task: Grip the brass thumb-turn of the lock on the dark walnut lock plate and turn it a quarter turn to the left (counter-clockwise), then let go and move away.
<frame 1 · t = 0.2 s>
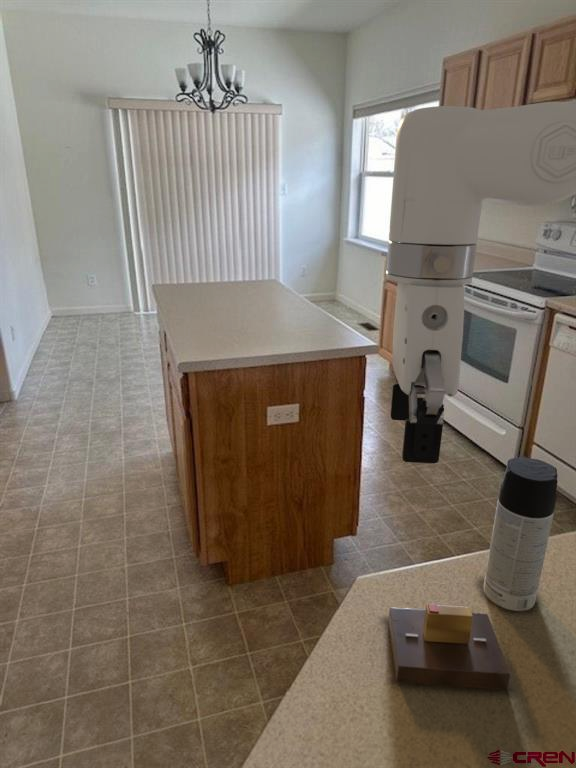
hand: (412, 438, 53), 29 cm above the counter, tool pointing down, fingers open, 9 cm apart
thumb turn: (447, 623, 61), point 5 cm above the counter, hinge at 0.0°
lock plate: (442, 658, 63), on the counter
spray can: (508, 599, 73), on the counter
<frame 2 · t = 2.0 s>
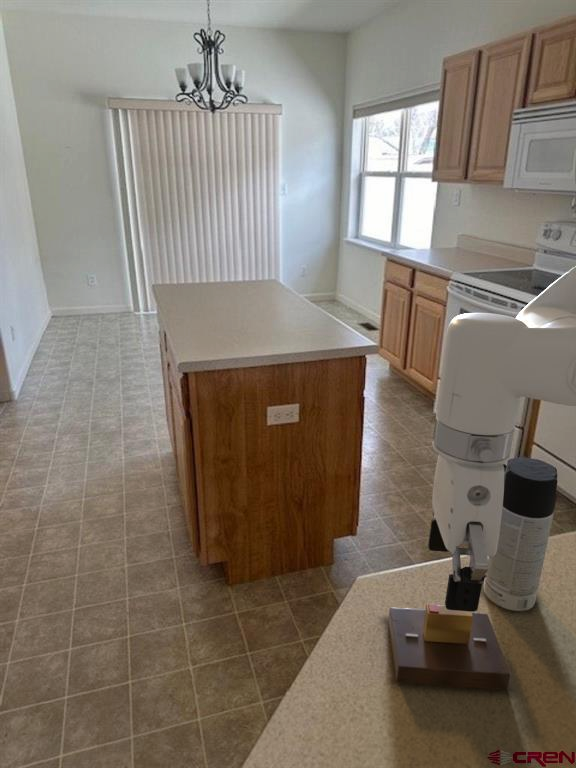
hand: (450, 577, 59), 12 cm above the counter, tool pointing down, fingers open, 9 cm apart
nothing on the counter moved.
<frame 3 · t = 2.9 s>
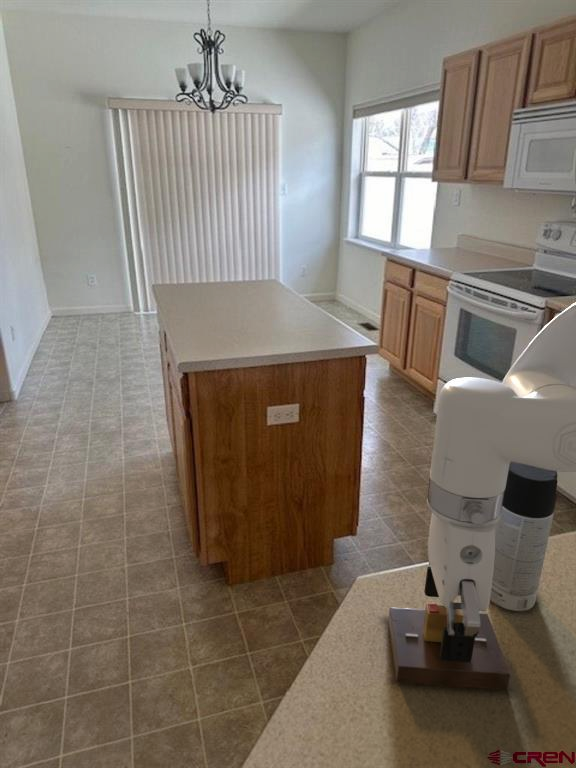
hand: (445, 625, 62), 5 cm above the counter, tool pointing down, fingers open, 9 cm apart
nothing on the counter moved.
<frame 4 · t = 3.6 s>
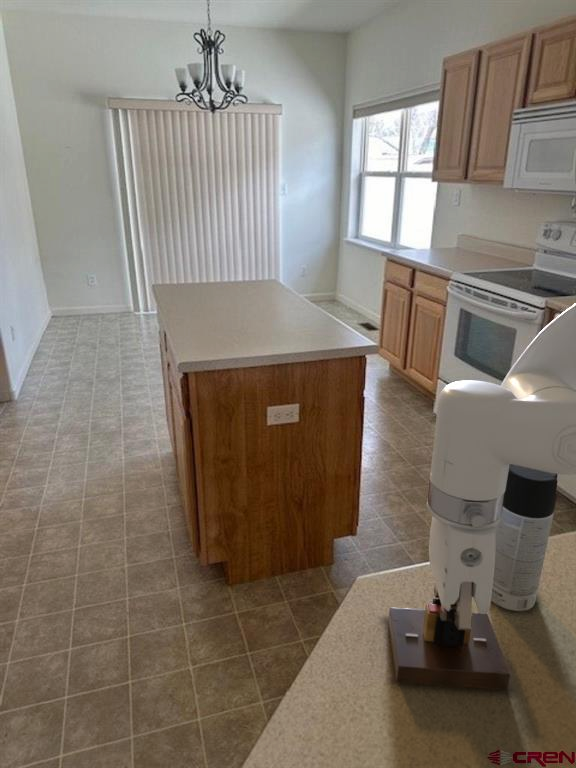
hand: (445, 635, 62), 3 cm above the counter, tool pointing down, fingers closed, pressing on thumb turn
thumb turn: (447, 623, 61), point 5 cm above the counter, hinge at 0.0°, touching gripper
everything else where it was.
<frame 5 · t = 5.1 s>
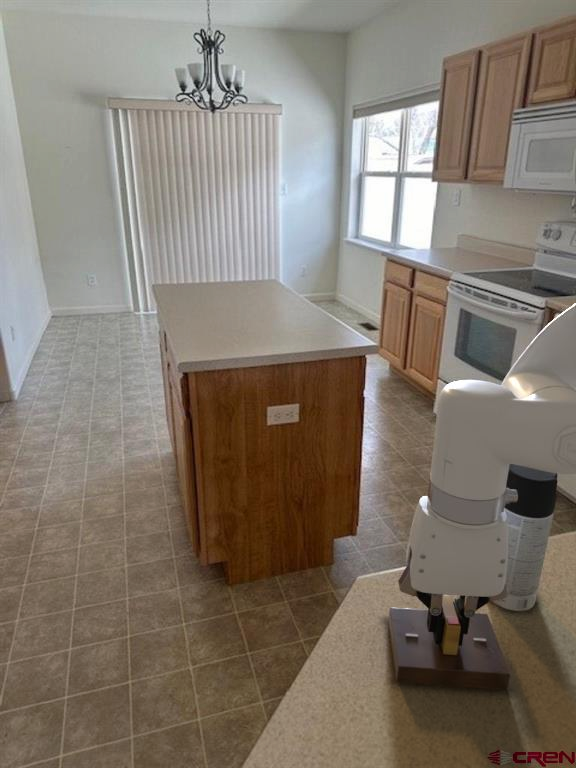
hand: (445, 634, 62), 3 cm above the counter, tool pointing down, fingers closed on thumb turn
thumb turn: (447, 623, 61), point 5 cm above the counter, hinge at 89.9°, touching gripper
everything else where it was.
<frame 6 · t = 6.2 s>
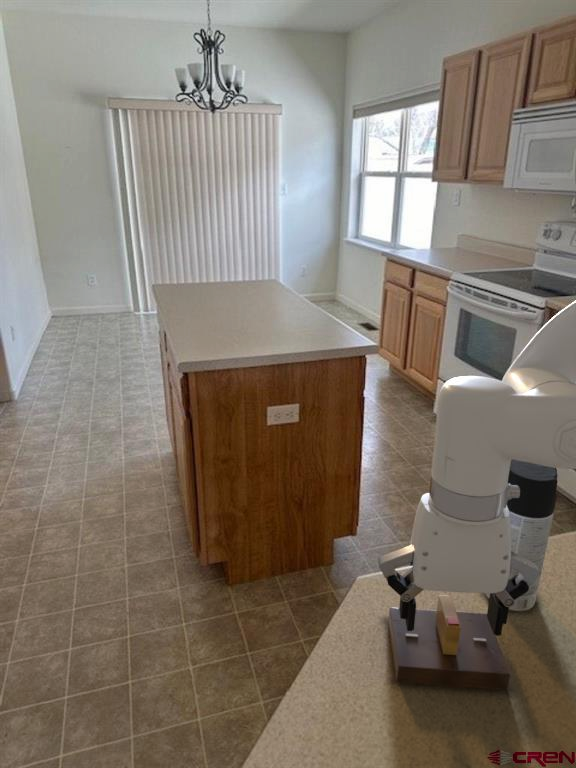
hand: (450, 624, 61), 5 cm above the counter, tool pointing down, fingers open, 9 cm apart
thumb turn: (447, 623, 61), point 5 cm above the counter, hinge at 90.1°
everything else where it was.
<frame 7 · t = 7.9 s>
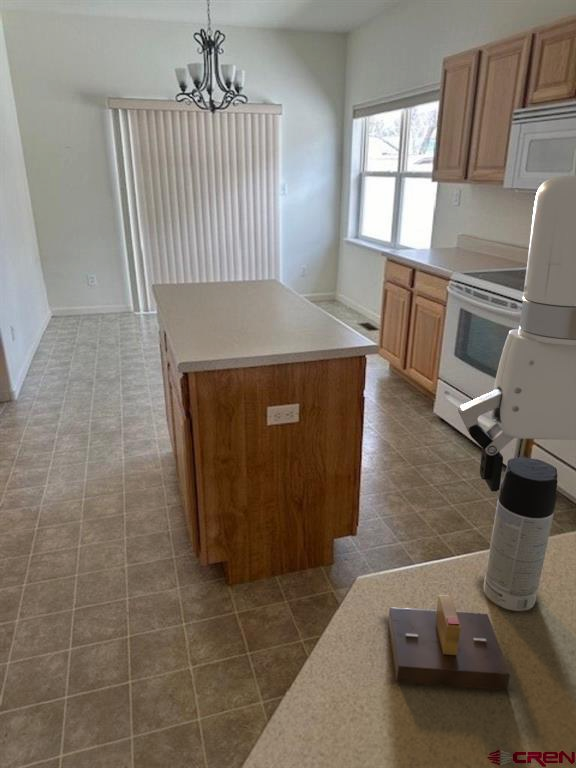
hand: (539, 485, 54), 24 cm above the counter, tool pointing down, fingers open, 9 cm apart
nothing on the counter moved.
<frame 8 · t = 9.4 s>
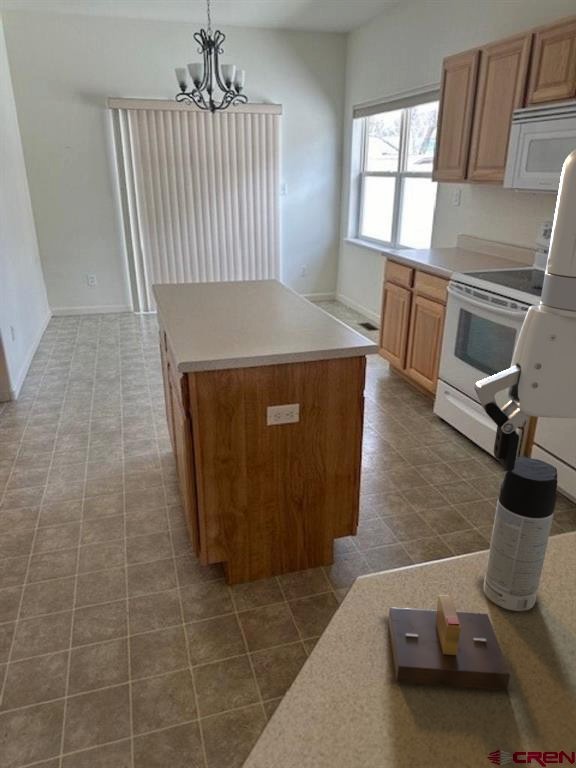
hand: (554, 467, 53), 26 cm above the counter, tool pointing down, fingers open, 9 cm apart
nothing on the counter moved.
at the end: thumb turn at +90° (first picture: +0°); the gripper is holding nothing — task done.
